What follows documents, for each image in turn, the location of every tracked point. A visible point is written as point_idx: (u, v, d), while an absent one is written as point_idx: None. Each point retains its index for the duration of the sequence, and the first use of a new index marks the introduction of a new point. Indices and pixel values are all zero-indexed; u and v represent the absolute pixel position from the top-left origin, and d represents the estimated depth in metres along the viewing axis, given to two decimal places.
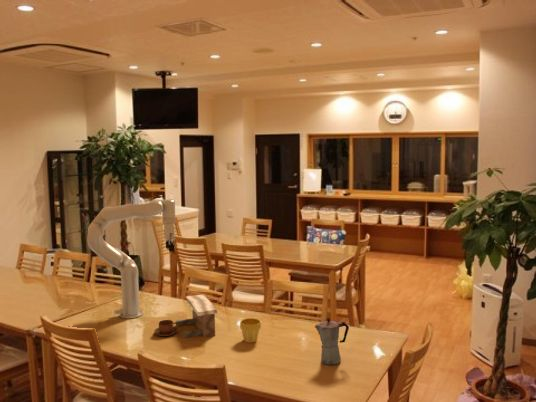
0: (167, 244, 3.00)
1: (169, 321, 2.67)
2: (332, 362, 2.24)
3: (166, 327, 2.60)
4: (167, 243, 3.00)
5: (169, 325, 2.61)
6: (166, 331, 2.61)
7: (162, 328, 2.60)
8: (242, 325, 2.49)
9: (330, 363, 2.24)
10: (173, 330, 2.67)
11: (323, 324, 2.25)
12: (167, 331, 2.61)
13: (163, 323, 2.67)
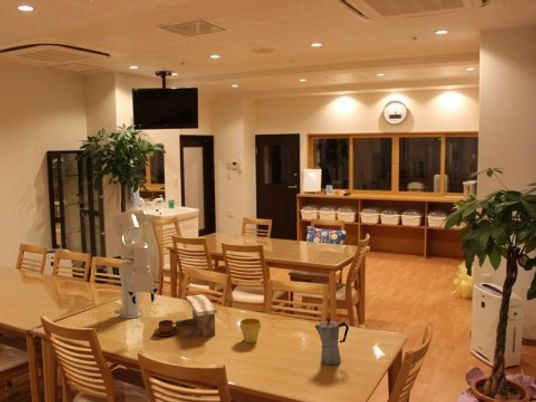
0: (135, 299, 2.56)
1: (169, 321, 2.67)
2: (332, 362, 2.24)
3: (166, 327, 2.60)
4: (135, 298, 2.56)
5: (169, 325, 2.61)
6: (166, 331, 2.60)
7: (162, 328, 2.60)
8: (242, 325, 2.49)
9: (330, 363, 2.24)
10: (173, 330, 2.67)
11: (323, 324, 2.25)
12: (167, 331, 2.61)
13: (163, 323, 2.67)
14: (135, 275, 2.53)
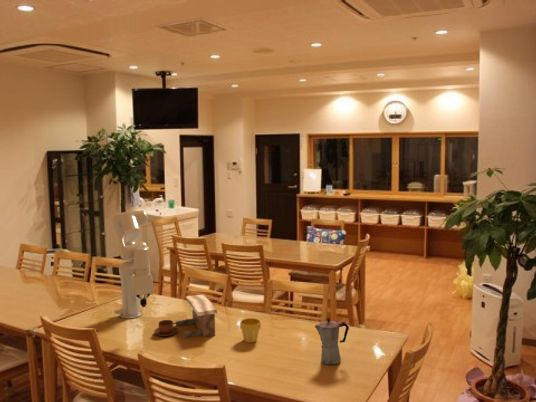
0: None
1: (169, 321, 2.67)
2: (332, 362, 2.24)
3: (166, 327, 2.60)
4: None
5: (169, 325, 2.61)
6: (166, 331, 2.60)
7: (162, 328, 2.60)
8: (242, 325, 2.49)
9: (330, 363, 2.24)
10: (173, 330, 2.67)
11: (323, 324, 2.25)
12: (167, 331, 2.61)
13: (163, 323, 2.67)
14: (135, 277, 2.53)
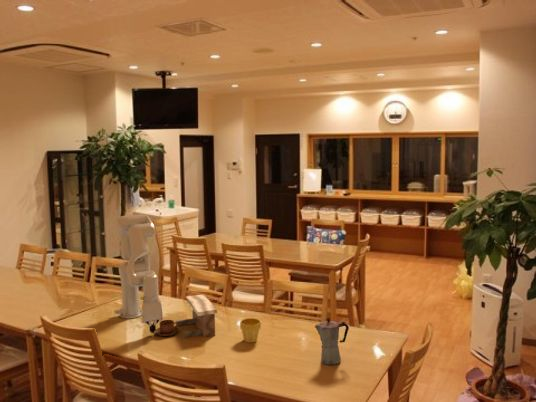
0: None
1: (170, 321, 2.67)
2: (332, 362, 2.24)
3: (167, 327, 2.60)
4: None
5: (170, 325, 2.61)
6: (167, 331, 2.61)
7: (163, 328, 2.60)
8: (242, 325, 2.49)
9: (330, 363, 2.24)
10: (174, 330, 2.67)
11: (323, 324, 2.25)
12: (168, 331, 2.61)
13: (164, 323, 2.67)
14: (145, 304, 2.56)
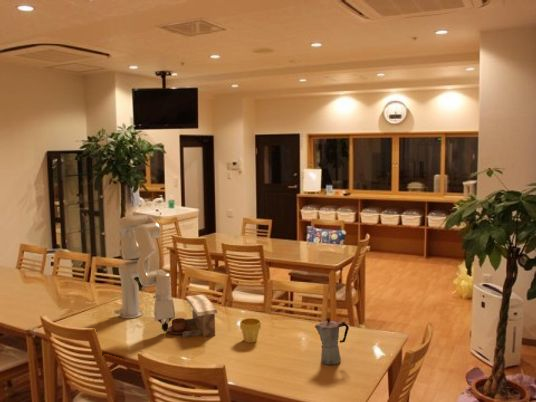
0: None
1: (182, 319, 2.69)
2: (332, 362, 2.24)
3: (179, 325, 2.62)
4: None
5: (182, 323, 2.63)
6: (179, 329, 2.63)
7: (175, 326, 2.63)
8: (242, 325, 2.49)
9: (330, 363, 2.24)
10: (186, 328, 2.69)
11: (323, 324, 2.25)
12: (180, 329, 2.63)
13: (176, 321, 2.69)
14: (157, 303, 2.58)
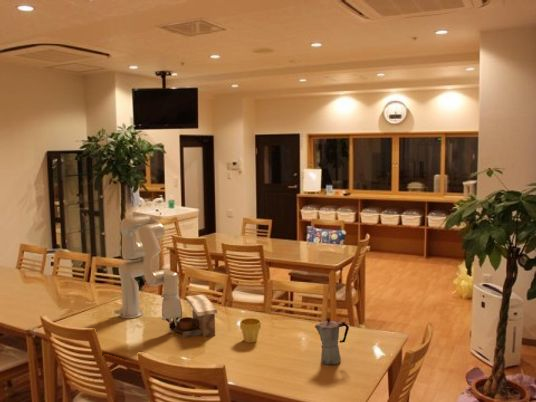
0: None
1: (189, 318, 2.71)
2: (332, 362, 2.24)
3: (187, 324, 2.64)
4: None
5: (190, 322, 2.65)
6: (187, 328, 2.64)
7: (183, 325, 2.64)
8: (242, 325, 2.49)
9: (330, 363, 2.24)
10: (193, 327, 2.71)
11: (323, 324, 2.25)
12: (188, 328, 2.64)
13: (183, 320, 2.70)
14: (165, 302, 2.60)
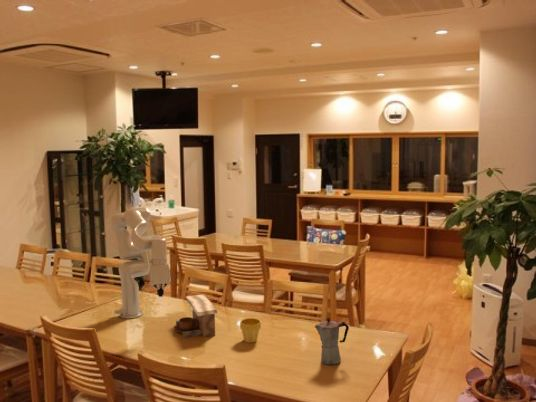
0: None
1: (189, 318, 2.70)
2: (332, 362, 2.24)
3: (187, 324, 2.64)
4: None
5: (190, 322, 2.65)
6: (187, 328, 2.64)
7: (183, 325, 2.64)
8: (242, 325, 2.49)
9: (330, 363, 2.24)
10: (193, 327, 2.71)
11: (323, 324, 2.25)
12: (188, 328, 2.64)
13: (183, 320, 2.70)
14: (153, 267, 2.56)
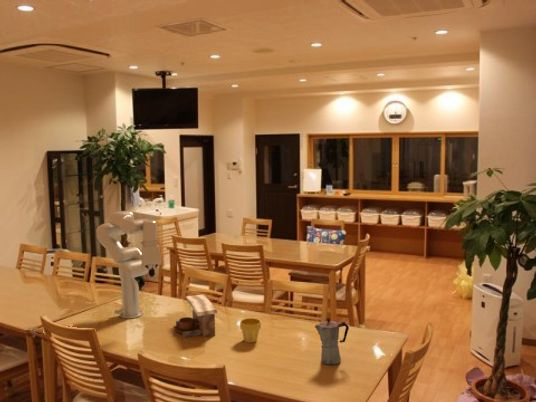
0: None
1: (189, 318, 2.70)
2: (332, 362, 2.24)
3: (187, 324, 2.64)
4: None
5: (190, 322, 2.65)
6: (187, 328, 2.64)
7: (183, 325, 2.64)
8: (242, 325, 2.49)
9: (330, 363, 2.24)
10: (193, 327, 2.70)
11: (323, 324, 2.25)
12: (188, 328, 2.64)
13: (183, 320, 2.70)
14: (144, 248, 2.69)
